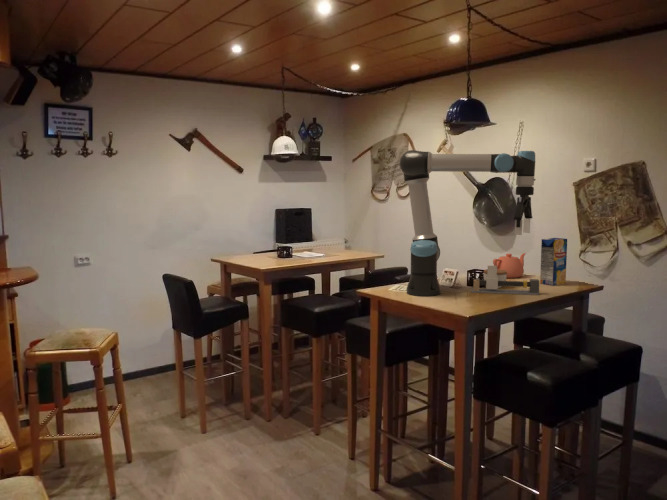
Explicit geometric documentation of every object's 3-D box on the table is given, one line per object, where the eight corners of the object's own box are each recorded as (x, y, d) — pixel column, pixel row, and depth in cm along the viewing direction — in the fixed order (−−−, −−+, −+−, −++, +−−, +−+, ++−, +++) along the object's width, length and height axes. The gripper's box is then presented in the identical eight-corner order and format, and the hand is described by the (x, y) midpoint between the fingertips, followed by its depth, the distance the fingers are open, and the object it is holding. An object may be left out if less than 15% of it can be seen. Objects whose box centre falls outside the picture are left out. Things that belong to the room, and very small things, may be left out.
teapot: (515, 273, 293) (515, 250, 292) (535, 277, 280) (536, 253, 278) (483, 276, 284) (484, 253, 283) (503, 280, 271) (504, 256, 269)
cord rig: (471, 292, 240) (471, 279, 239) (471, 289, 247) (471, 276, 246) (539, 294, 233) (539, 281, 232) (537, 291, 240) (537, 278, 239)
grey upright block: (486, 288, 239) (486, 266, 238) (485, 286, 244) (486, 265, 243) (497, 289, 238) (498, 266, 237) (497, 287, 243) (497, 265, 241)
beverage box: (540, 283, 260) (541, 239, 257) (552, 281, 266) (554, 237, 263) (552, 285, 254) (554, 240, 251) (565, 283, 260) (567, 238, 258)
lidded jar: (507, 289, 247) (508, 269, 246) (484, 288, 249) (484, 268, 248) (505, 285, 257) (505, 266, 256) (482, 284, 260) (482, 265, 258)
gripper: (526, 186, 223) (523, 236, 226) (540, 186, 244) (537, 232, 246) (508, 186, 228) (505, 235, 230) (523, 186, 248) (521, 231, 251)
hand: (522, 233), depth 238 cm, fingers open, 13 cm apart
